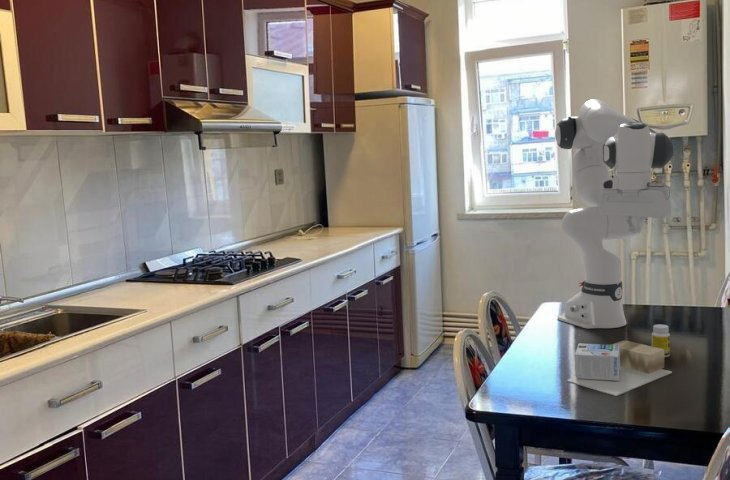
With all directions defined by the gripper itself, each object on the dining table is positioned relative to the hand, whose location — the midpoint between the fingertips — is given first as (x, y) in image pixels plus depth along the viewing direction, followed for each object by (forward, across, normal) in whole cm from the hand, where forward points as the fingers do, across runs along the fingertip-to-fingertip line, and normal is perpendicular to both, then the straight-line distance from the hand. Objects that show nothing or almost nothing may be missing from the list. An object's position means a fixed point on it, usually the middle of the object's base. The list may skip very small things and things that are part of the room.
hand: (633, 232), depth 187 cm
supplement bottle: (+35, -5, -5) cm, 36 cm away
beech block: (+32, 0, +8) cm, 33 cm away
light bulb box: (+32, +2, +24) cm, 39 cm away
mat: (+35, -8, +18) cm, 40 cm away
